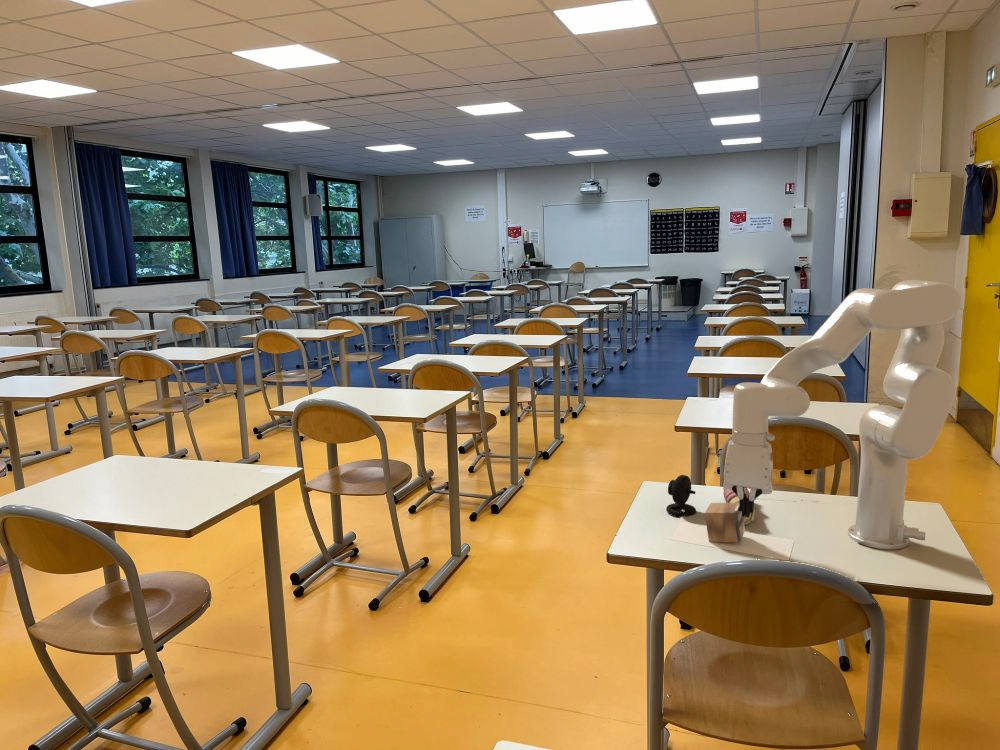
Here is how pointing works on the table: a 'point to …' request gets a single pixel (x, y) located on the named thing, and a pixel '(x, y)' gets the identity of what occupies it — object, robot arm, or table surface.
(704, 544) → the mat
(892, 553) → the table surface
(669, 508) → the webcam
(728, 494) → the scroll
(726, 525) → the block
